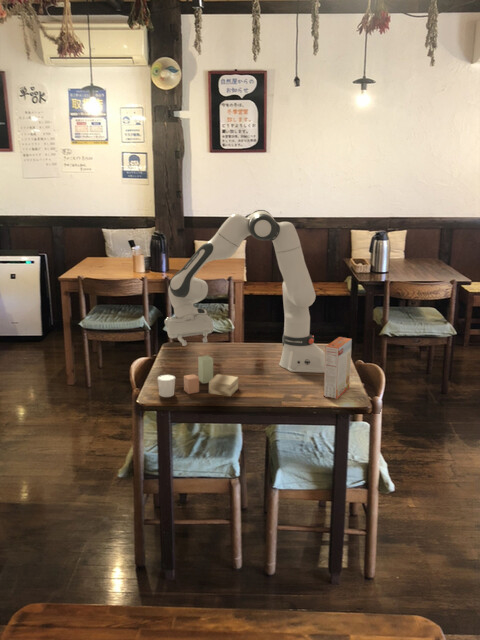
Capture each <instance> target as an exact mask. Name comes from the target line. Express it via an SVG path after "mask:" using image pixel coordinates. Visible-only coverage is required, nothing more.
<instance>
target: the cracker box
mask: <svg viewBox="0 0 480 640" xmlns="http://www.w3.org/2000/svg"><path fill="white" fill-rule="evenodd" d="M352 340H353V339H352V338H347V337H343V336H338V337H337V338H335V339H334V340H333V341H331V342H330V343H328V344H326V345H325V350H324V353H325V373H323V374H324V376H323V378H324V379H323V397H324V396H325V398H328V397H331V398H330V399H333V398H335V399H334V400H338V399H339V398H340V397H341V396H342V395H343V394H344V393H346V391H347V390H349V389H350V380H351V360H352V343H353V341H352ZM337 398H338V399H337Z"/></svg>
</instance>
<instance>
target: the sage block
mask: <svg viewBox="0 0 480 640" xmlns="http://www.w3.org/2000/svg"><path fill="white" fill-rule="evenodd" d="M197 361H198V363H197V366H198V372H197V373H198V375H197V377H199V383H201V384H209V381H210V380H211V379H212V378H213V377H214V358H213V357H211V356H210V355H203V356H198V358H197Z"/></svg>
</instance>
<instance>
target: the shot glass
mask: <svg viewBox="0 0 480 640" xmlns="http://www.w3.org/2000/svg"><path fill="white" fill-rule="evenodd" d="M157 386H158V395H159V397H162V398H171V397H173V396H175V387H176V376H175V375H173V374H161V375H158V376H157Z"/></svg>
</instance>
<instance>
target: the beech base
mask: <svg viewBox="0 0 480 640" xmlns="http://www.w3.org/2000/svg"><path fill="white" fill-rule="evenodd" d="M238 389H239V376H233V375H226V374H219V373H217V374H216V375H214V376H213V378H212V379H211V380H210V381H209V383H208V394H211V395H218V396H219V395H220V396H227V397H231V396H232V395H233V394H234V393H235V392H236V391H237V390H238Z"/></svg>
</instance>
